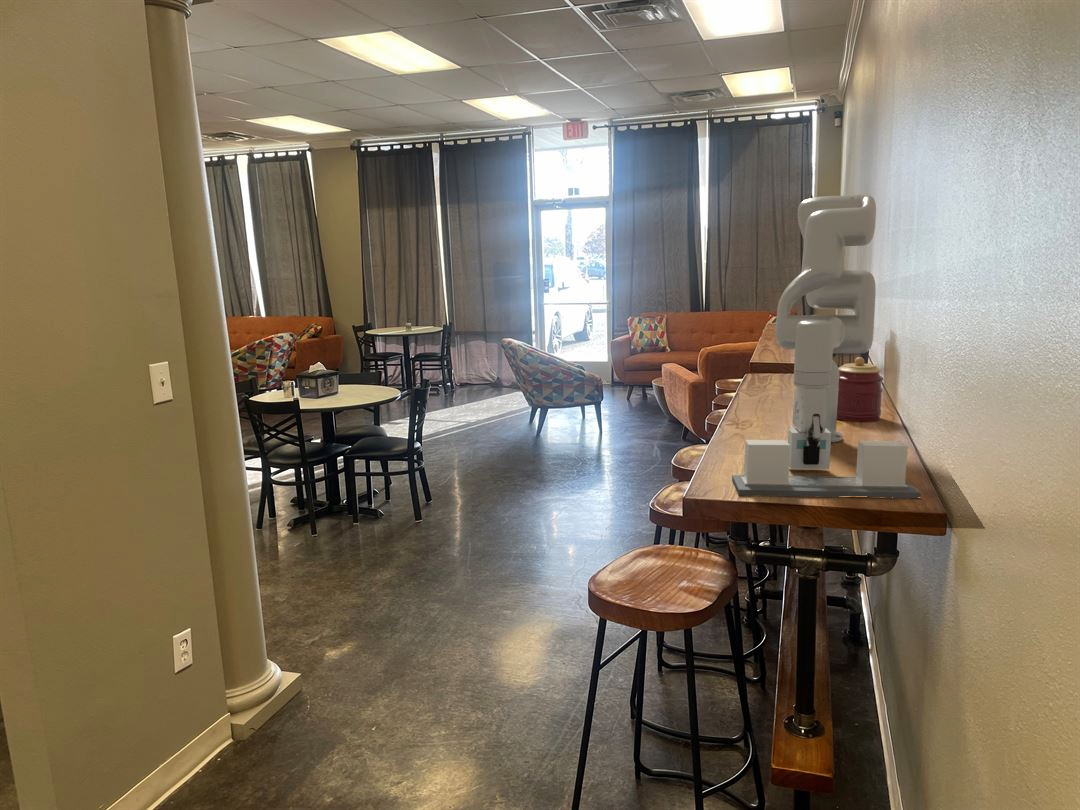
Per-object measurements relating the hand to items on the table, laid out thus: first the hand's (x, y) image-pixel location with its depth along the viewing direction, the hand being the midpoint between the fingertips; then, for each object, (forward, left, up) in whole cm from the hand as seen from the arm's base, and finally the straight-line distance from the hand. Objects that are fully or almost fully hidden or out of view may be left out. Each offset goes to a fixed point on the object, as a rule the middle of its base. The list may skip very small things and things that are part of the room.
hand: (808, 459), depth 158 cm
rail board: (+13, 0, -2) cm, 13 cm away
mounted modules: (+13, 0, -1) cm, 13 cm away
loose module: (0, 0, -1) cm, 1 cm away
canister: (-55, +26, -3) cm, 61 cm away
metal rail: (+13, 0, -1) cm, 13 cm away
